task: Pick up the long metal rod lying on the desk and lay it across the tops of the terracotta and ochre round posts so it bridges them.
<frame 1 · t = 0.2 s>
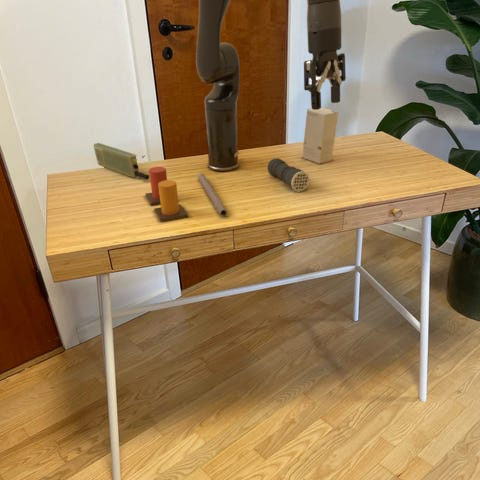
hand: (326, 105, 112), 22 cm above the table, tool pointing down, fingers open, 8 cm apart
terracotta post: (161, 198, 124), on the table
metal rod: (211, 197, 125), on the table
handheld radio: (123, 173, 142), on the table
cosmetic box: (317, 159, 148), on the table
ochre post: (170, 214, 116), on the table
flashlight: (287, 183, 132), on the table
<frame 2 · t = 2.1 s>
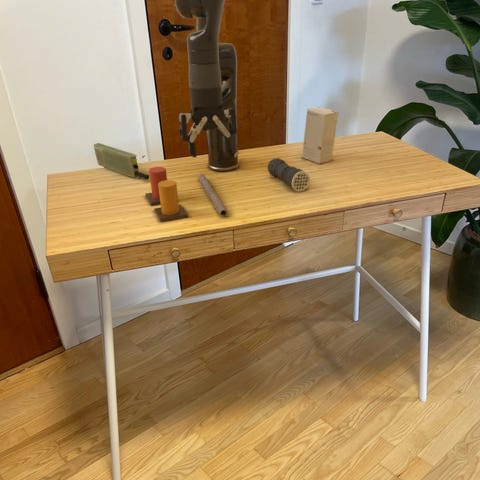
hand: (209, 154, 118), 11 cm above the table, tool pointing down, fingers open, 8 cm apart
nothing on the table moved.
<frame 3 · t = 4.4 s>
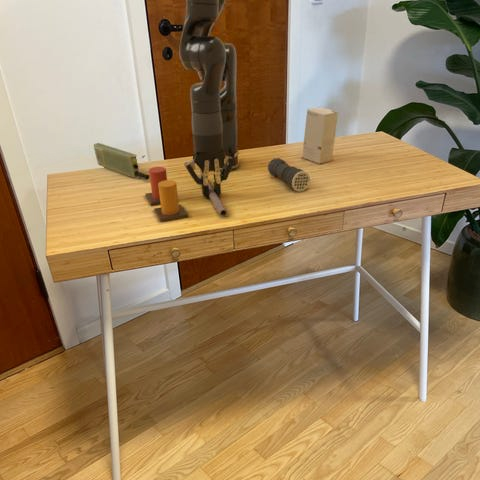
hand: (211, 196, 125), 0 cm above the table, tool pointing down, fingers closed on metal rod, 2 cm apart
metal rod: (211, 197, 125), on the table, touching gripper
everything else where it was.
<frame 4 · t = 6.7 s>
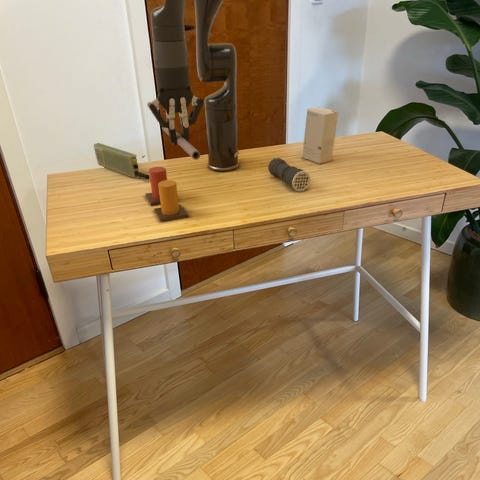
hand: (179, 143, 113), 15 cm above the table, tool pointing down, fingers closed on metal rod
metal rod: (180, 145, 113), point 15 cm above the table, touching gripper
everything else where it was.
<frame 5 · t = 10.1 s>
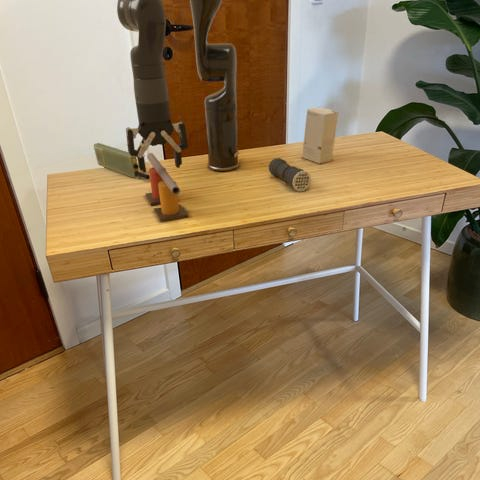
hand: (161, 169, 115), 10 cm above the table, tool pointing down, fingers open, 8 cm apart
metal rod: (162, 176, 116), point 8 cm above the table, touching ochre post, terracotta post
everything else where it was.
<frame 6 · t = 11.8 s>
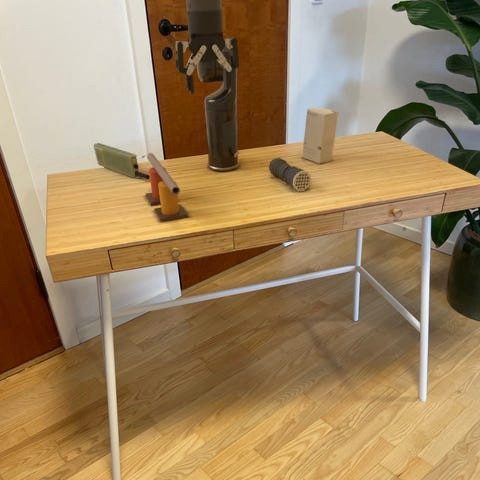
hand: (209, 91, 108), 26 cm above the table, tool pointing down, fingers open, 8 cm apart
nothing on the table moved.
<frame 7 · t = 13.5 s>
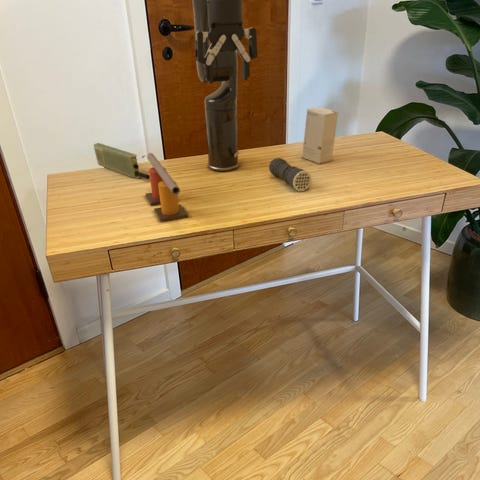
hand: (227, 81, 108), 28 cm above the table, tool pointing down, fingers open, 8 cm apart
nothing on the table moved.
at the end: metal rod touching ochre post, terracotta post; metal rod point 7.8 cm above the table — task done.
